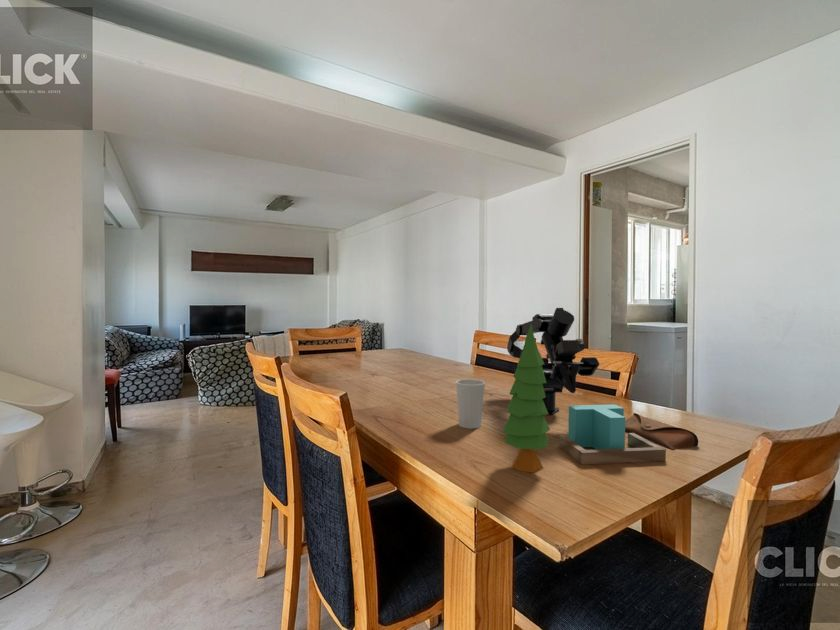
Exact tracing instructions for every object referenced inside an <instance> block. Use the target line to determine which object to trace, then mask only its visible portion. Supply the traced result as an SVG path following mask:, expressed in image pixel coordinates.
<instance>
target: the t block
mask: <svg viewBox="0 0 840 630" xmlns="http://www.w3.org/2000/svg"><path fill="white" fill-rule="evenodd" d="M624 412H625V408H624V407H623V406H620V405H617V404H585V405H583V404H582V405H581V404H580V405H579V404H578V405H577V404H576V405H568V429H567V430H568V432H567V433H568V434H567V437H568V438H570V439H571V440H572V441H574V442H575V443H576V444H578V445H579V446H581V447H582V448H587V447H589V448H590V447H591V448H594V450H597V449H622V448H626V432H625V421H626V417H625V416H624V415H625V414H624Z"/></svg>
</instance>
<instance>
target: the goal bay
mask: <svg viewBox="0 0 840 630" xmlns="http://www.w3.org/2000/svg"><path fill="white" fill-rule="evenodd" d="M627 444H628V445H630V446H632V447H629V448H627V447H625V448H622V449H585V448H584V447H581V446H579V445H578V444H576V443H575V442H574V441H572V440H571V439H570V438H568V435H565V434H564V435H563V434H561V435H558V446H559V447H560V448H561V449H562V450H563V451H564V452H566V453H567V454H569V456H571V457H572V458H573V459H575V460H576V461H577V462H578V463H579V464H581V465H583V466H584V465H598V464H599V465H601V464H602V465H604V464H605V465H606V464H623V463H624V464H626V463H625V462H630V463H649V462H651V461H653V462H666V459H667V457H666V453H667V450H666V449H665V447H663V446H661V445H660V446H659V444H657V443H655V442H652V441H649V440H647V439H645V438H643V437H641V436H639V435H637V434H635V433H628V432H627Z"/></svg>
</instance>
